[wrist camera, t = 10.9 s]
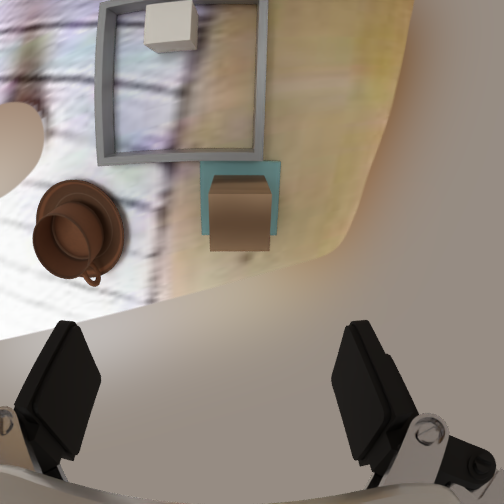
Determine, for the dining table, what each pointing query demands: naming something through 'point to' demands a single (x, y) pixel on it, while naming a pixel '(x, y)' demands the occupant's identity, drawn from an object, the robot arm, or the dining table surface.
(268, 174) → the pad
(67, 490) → the robot arm
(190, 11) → the pale grey block
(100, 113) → the grey square frame
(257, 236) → the walnut block
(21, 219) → the dining table surface
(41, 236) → the cup and saucer
